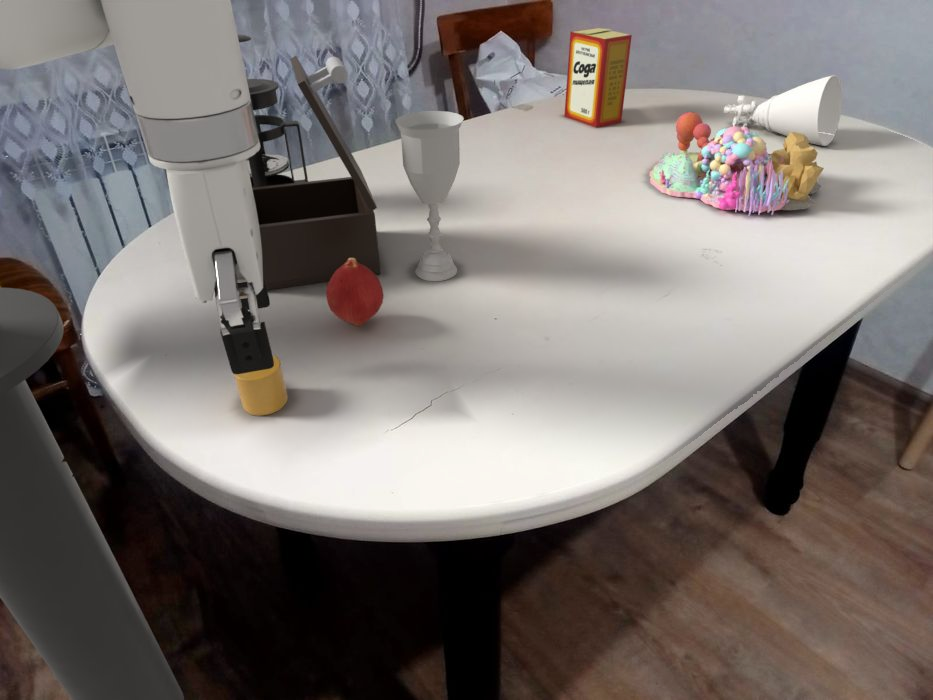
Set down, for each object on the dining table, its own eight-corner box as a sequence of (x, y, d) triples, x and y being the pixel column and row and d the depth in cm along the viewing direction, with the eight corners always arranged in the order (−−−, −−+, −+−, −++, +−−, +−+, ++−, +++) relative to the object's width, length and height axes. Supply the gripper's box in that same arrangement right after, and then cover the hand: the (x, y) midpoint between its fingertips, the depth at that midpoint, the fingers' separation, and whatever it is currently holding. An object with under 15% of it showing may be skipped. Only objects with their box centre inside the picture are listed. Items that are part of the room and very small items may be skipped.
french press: (227, 223, 92) (185, 45, 79) (230, 198, 99) (192, 31, 86) (313, 214, 94) (285, 39, 81) (309, 190, 102) (284, 27, 88)
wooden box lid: (297, 84, 65) (341, 59, 65) (289, 58, 75) (328, 37, 75) (371, 211, 74) (410, 190, 74) (355, 173, 84) (390, 155, 84)
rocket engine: (727, 70, 122) (832, 61, 110) (747, 103, 130) (847, 97, 118) (708, 128, 121) (812, 125, 109) (730, 157, 130) (828, 157, 118)
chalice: (416, 289, 76) (405, 133, 66) (399, 264, 81) (387, 115, 71) (474, 277, 78) (473, 124, 68) (454, 253, 83) (450, 107, 73)
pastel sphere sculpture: (809, 166, 107) (826, 108, 102) (833, 225, 89) (855, 157, 84) (652, 154, 113) (660, 99, 108) (644, 207, 95) (654, 143, 89)
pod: (238, 417, 58) (228, 381, 56) (246, 389, 61) (237, 354, 59) (284, 414, 58) (276, 378, 56) (290, 386, 61) (282, 351, 59)
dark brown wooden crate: (256, 291, 76) (241, 229, 72) (254, 245, 86) (241, 188, 82) (380, 274, 79) (374, 213, 75) (365, 231, 89) (359, 175, 85)
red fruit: (321, 321, 71) (310, 254, 66) (368, 304, 73) (361, 239, 69) (347, 346, 67) (337, 276, 62) (395, 327, 69) (389, 259, 65)
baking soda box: (621, 121, 129) (631, 32, 120) (596, 127, 126) (605, 36, 117) (588, 111, 136) (596, 25, 127) (564, 116, 133) (570, 29, 124)
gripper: (156, 106, 52) (210, 294, 62) (125, 180, 38) (201, 408, 48) (254, 97, 53) (292, 282, 63) (258, 165, 40) (305, 388, 49)
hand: (253, 336), depth 55 cm, fingers open, 9 cm apart
